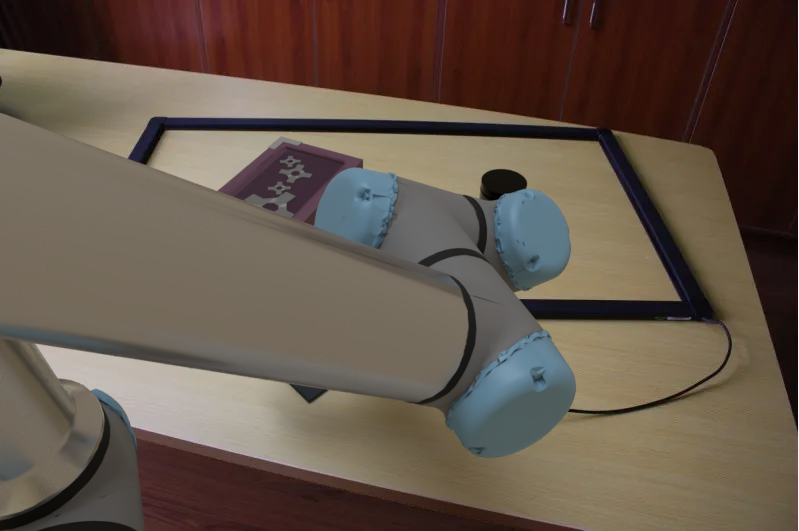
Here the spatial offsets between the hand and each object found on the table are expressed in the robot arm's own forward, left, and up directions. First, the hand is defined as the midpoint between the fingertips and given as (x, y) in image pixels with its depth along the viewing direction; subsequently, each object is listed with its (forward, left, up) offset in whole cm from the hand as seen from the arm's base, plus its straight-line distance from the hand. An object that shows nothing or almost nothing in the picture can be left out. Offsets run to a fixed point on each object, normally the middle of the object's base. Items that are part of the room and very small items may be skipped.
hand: (311, 320), depth 77 cm
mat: (0, 0, -7) cm, 7 cm away
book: (+16, +28, -7) cm, 33 cm away
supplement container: (+36, 0, -7) cm, 37 cm away
